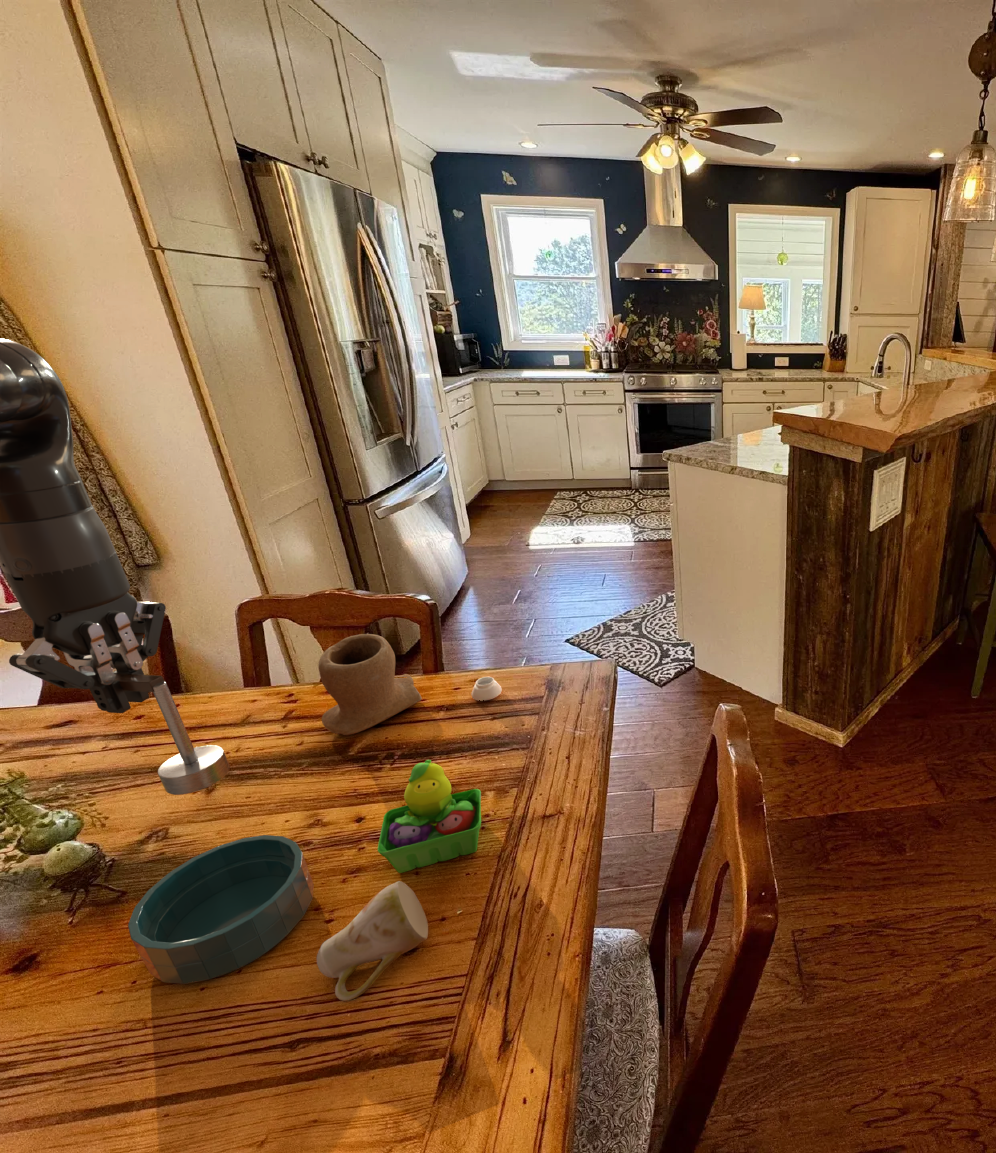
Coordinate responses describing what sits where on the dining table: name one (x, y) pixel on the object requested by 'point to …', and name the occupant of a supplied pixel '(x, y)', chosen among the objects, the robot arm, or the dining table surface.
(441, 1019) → the dining table surface
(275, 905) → the bowl
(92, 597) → the robot arm
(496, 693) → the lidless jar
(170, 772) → the rod with disc base
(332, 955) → the mug
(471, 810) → the fruit basket
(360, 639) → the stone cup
